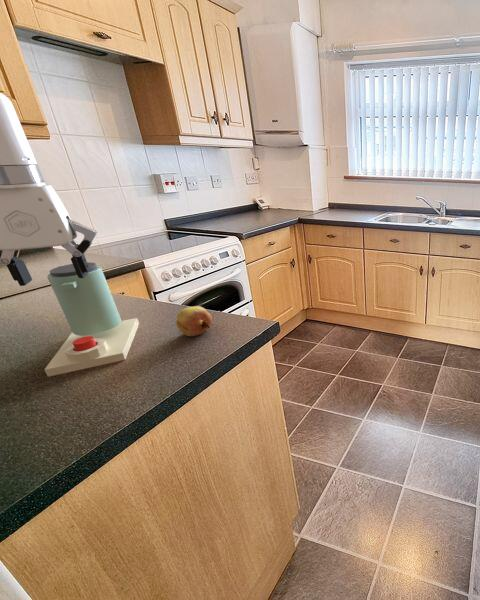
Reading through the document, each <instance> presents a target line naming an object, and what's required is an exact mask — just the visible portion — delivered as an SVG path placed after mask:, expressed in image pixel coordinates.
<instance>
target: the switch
mask: <svg viewBox="0 0 480 600" xmlns="http://www.w3.org/2000/svg"><path fill="white" fill-rule="evenodd" d="M72 344H73V346H74V348H75V350H76V351H83V350H87V349H90V348H93V347H94V346H96V345H97V344H96V342H95V340H94V337H92V336H87V337H82V338H79V339H77V340H75V341H73V343H72Z"/></svg>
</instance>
